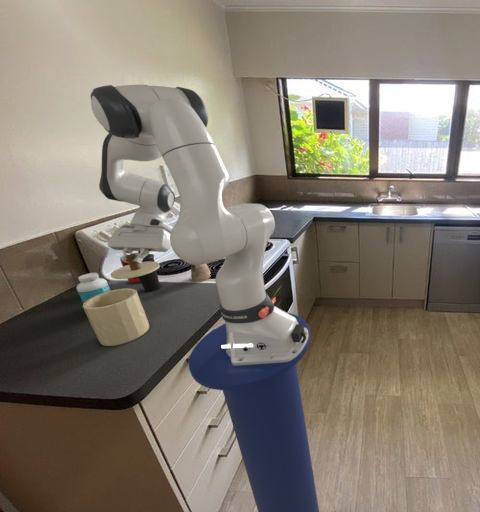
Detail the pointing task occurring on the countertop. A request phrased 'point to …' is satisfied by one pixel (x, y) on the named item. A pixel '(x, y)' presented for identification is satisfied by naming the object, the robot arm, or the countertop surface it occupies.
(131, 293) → the beige canister
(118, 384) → the countertop surface
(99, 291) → the pill bottle
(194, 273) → the figurine
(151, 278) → the drinking cup
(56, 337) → the countertop surface
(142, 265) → the lid
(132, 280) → the canned food
